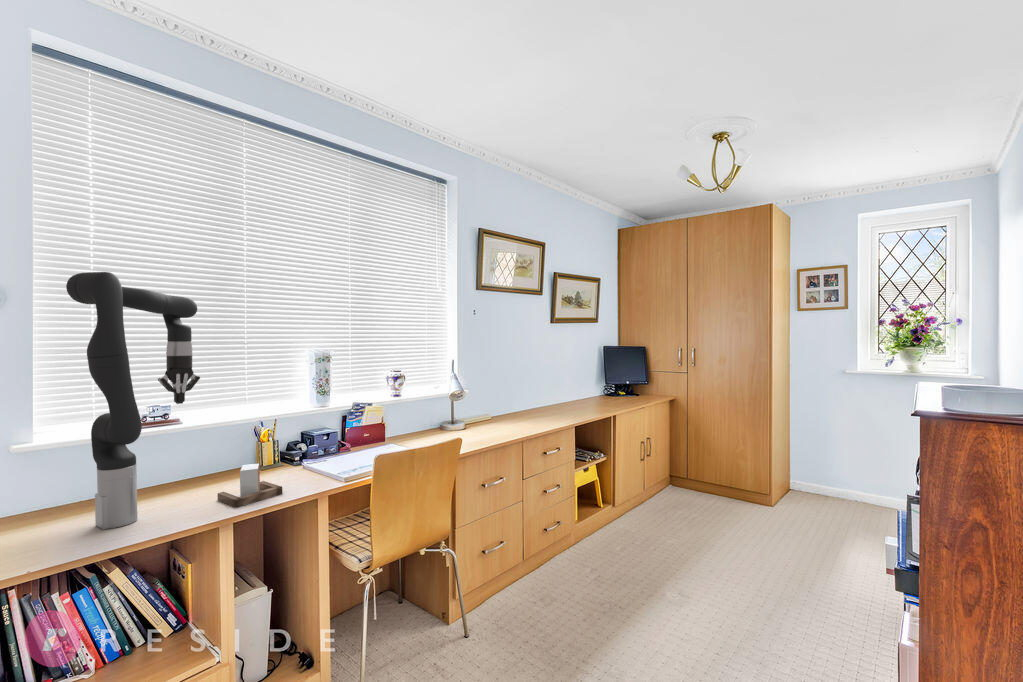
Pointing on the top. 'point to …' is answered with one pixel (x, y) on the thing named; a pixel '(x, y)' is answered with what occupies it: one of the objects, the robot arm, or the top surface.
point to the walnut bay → (251, 495)
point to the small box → (249, 479)
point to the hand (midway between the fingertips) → (179, 403)
